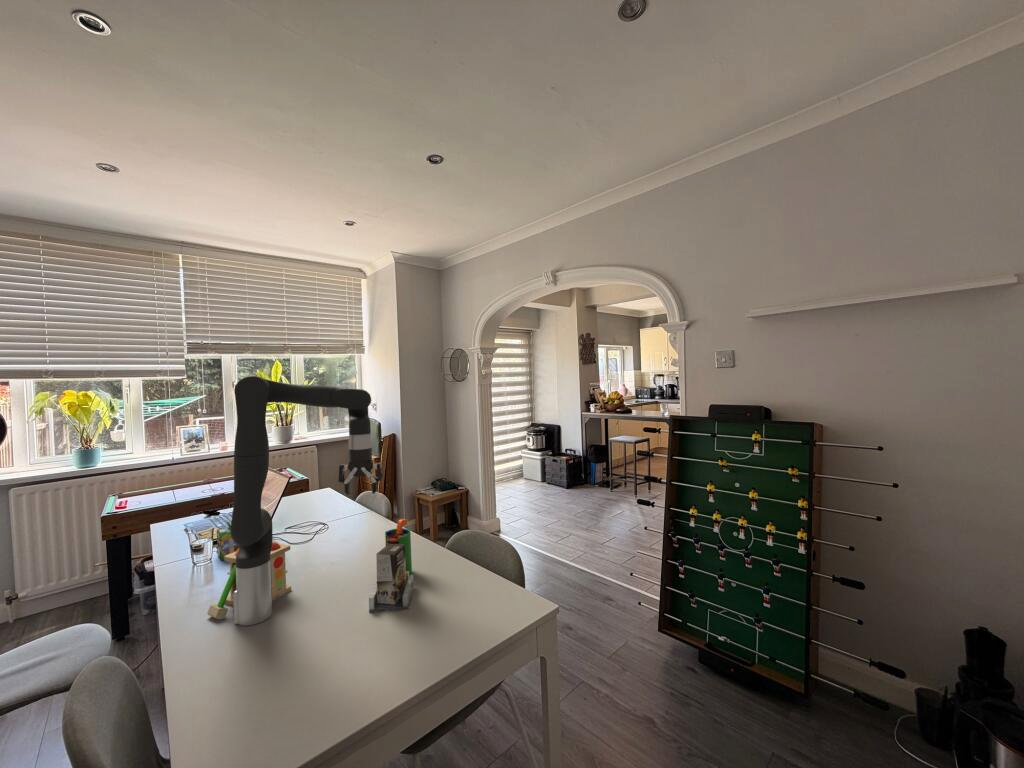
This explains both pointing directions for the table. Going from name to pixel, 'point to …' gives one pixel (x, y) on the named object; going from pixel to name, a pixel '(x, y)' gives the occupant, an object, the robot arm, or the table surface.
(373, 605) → the grey open tray
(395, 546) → the coffee box
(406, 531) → the motor
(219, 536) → the chalk box
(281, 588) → the pounding bench toy
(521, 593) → the table surface
